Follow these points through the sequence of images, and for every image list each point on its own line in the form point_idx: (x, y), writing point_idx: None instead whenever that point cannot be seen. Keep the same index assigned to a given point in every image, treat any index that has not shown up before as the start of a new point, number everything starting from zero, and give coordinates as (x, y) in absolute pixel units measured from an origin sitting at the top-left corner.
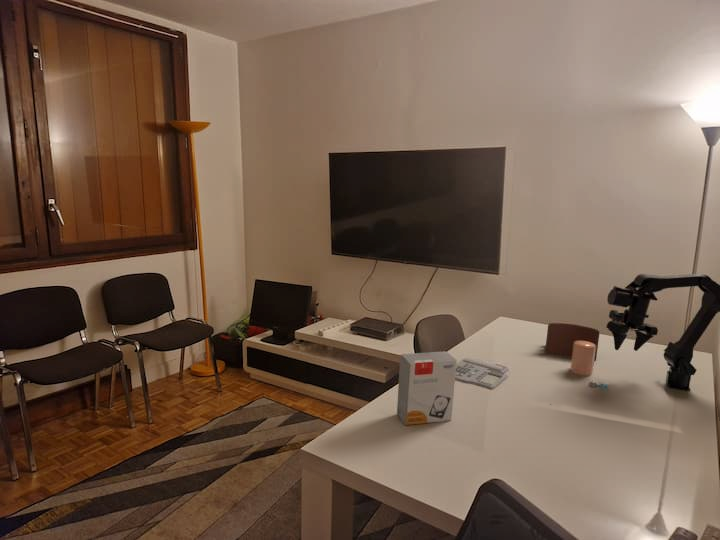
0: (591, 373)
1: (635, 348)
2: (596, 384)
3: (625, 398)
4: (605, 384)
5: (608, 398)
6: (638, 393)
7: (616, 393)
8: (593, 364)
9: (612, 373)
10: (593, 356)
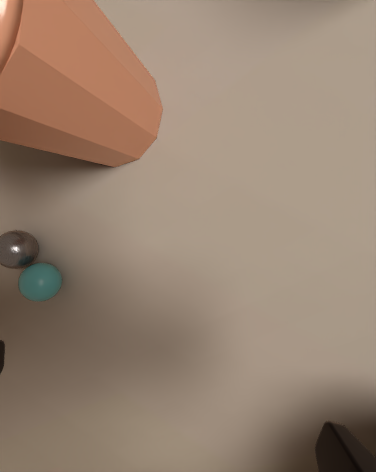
0: (113, 159)
1: (331, 464)
2: (8, 266)
3: (82, 356)
4: (30, 295)
5: (26, 320)
6: (172, 367)
7: (89, 316)
8: (99, 146)
9: (294, 176)
10: (30, 140)
